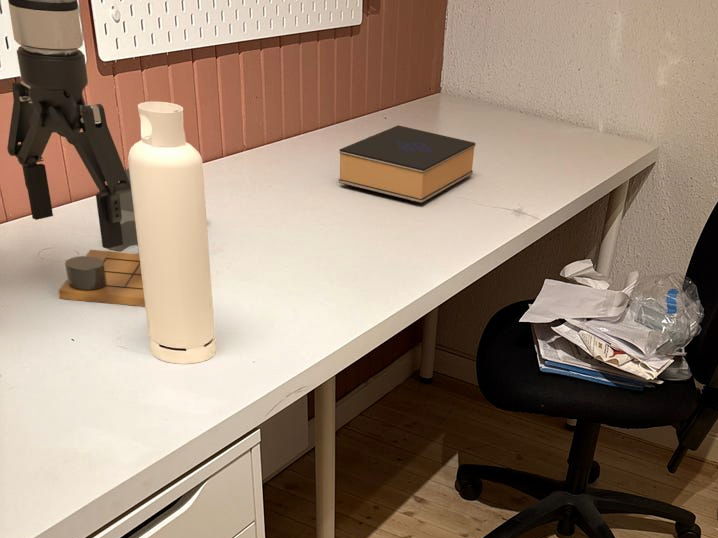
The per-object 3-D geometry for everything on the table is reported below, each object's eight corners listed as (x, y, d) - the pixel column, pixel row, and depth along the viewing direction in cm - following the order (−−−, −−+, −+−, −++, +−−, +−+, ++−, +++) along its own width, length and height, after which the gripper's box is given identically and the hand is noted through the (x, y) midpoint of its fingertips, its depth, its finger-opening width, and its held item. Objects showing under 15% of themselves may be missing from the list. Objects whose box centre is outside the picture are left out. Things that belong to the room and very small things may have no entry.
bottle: (140, 342, 123) (109, 99, 105) (199, 332, 127) (179, 96, 109) (167, 368, 118) (140, 118, 100) (227, 356, 122) (211, 115, 104)
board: (60, 298, 130) (58, 289, 129) (91, 257, 142) (90, 248, 141) (180, 309, 132) (179, 300, 131) (201, 268, 144) (200, 259, 143)
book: (338, 187, 181) (339, 149, 177) (396, 160, 199) (397, 125, 195) (421, 207, 177) (423, 169, 173) (472, 178, 195) (475, 142, 191)
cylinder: (63, 288, 130) (59, 267, 128) (74, 274, 133) (70, 254, 132) (101, 291, 130) (98, 271, 128) (110, 278, 134) (108, 258, 132)
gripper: (149, 68, 112) (165, 252, 125) (8, 24, 120) (38, 200, 134) (97, 74, 107) (120, 265, 120) (-46, 27, 115) (-9, 211, 129)
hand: (77, 231), depth 127 cm, fingers open, 13 cm apart
